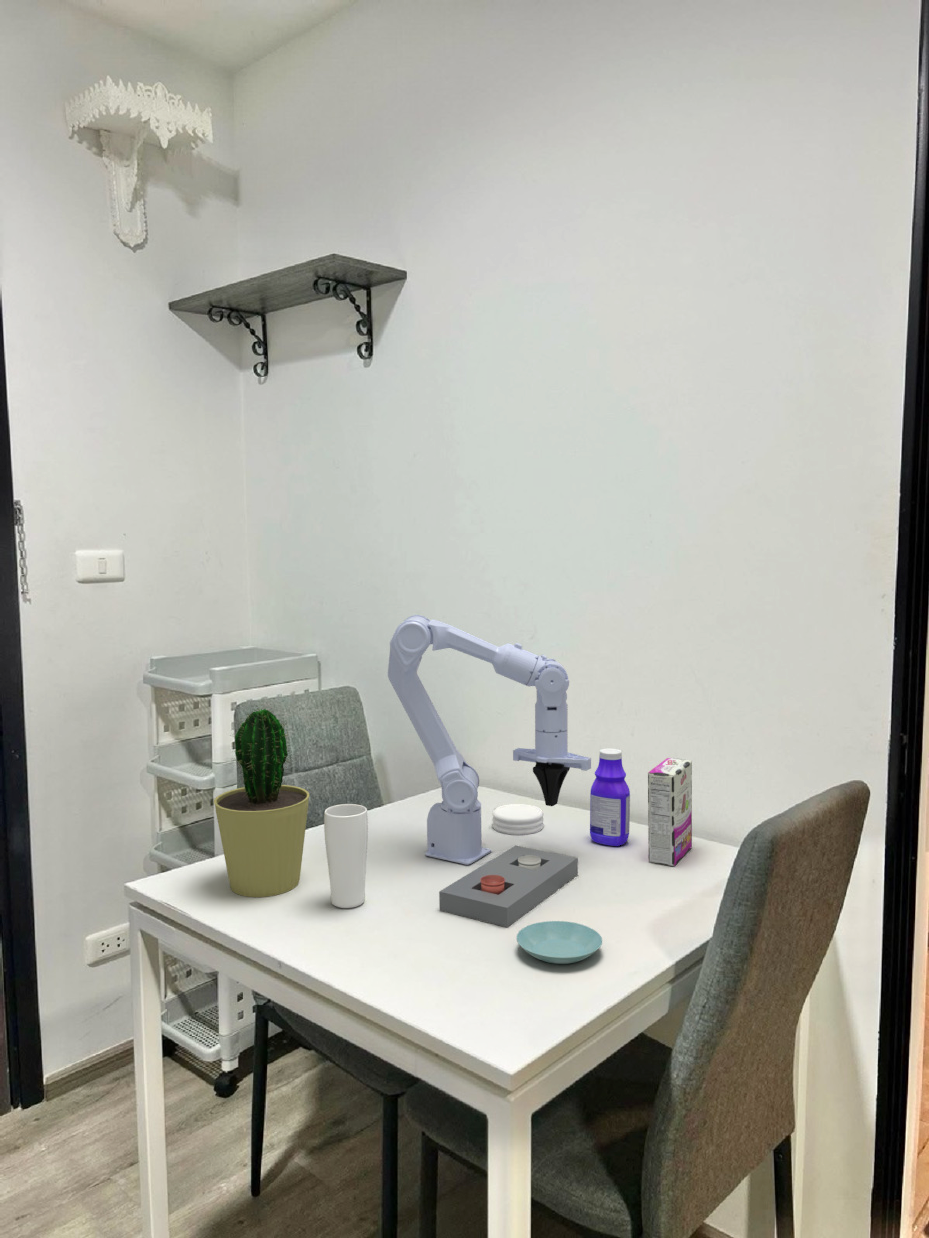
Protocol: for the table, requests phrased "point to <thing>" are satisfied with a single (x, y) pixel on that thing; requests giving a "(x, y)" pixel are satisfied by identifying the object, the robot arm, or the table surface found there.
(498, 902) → the console
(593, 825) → the bottle
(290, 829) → the potted cactus
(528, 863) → the sample container
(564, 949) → the saucer
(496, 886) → the red button
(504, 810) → the white ridged round container
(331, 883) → the drinking glass
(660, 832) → the candy bar box
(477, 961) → the table surface
